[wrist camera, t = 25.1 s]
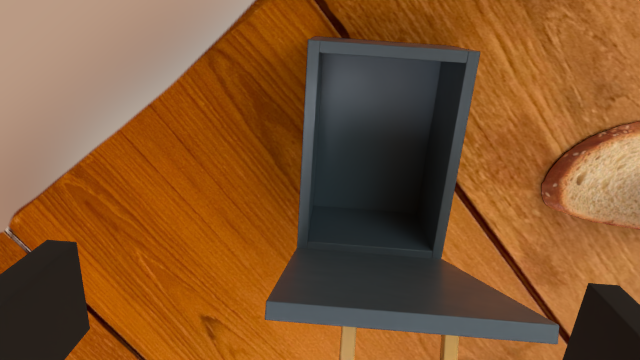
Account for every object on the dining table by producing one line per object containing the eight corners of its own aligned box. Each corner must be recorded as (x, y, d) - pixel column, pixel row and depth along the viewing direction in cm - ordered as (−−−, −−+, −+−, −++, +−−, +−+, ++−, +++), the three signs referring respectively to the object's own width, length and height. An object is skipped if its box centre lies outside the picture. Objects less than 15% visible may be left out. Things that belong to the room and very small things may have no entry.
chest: (314, 36, 40) (307, 39, 31) (451, 45, 39) (480, 51, 31) (304, 208, 46) (296, 249, 38) (422, 217, 46) (441, 261, 37)
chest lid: (266, 300, 19) (255, 435, 18) (559, 325, 18) (551, 462, 18) (296, 247, 37) (291, 314, 37) (442, 259, 37) (438, 326, 37)
